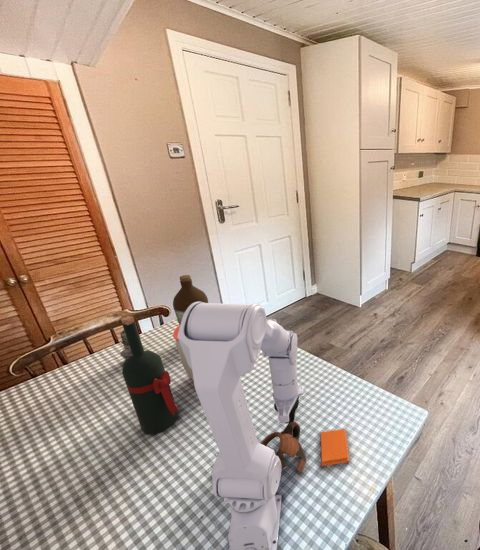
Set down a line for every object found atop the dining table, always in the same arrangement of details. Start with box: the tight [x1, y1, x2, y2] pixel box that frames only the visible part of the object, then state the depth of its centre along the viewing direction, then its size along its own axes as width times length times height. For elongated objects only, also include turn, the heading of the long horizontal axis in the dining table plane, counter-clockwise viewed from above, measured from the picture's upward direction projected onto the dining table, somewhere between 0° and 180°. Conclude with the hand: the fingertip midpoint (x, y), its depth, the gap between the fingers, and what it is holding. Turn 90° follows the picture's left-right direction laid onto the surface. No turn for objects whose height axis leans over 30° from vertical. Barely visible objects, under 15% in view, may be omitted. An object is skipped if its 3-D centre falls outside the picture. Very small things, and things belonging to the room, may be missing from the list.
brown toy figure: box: [260, 421, 307, 474], centre depth 67 cm, size 12×10×8 cm
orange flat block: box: [320, 428, 350, 467], centre depth 70 cm, size 8×6×1 cm
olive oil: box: [172, 274, 209, 326], centre depth 106 cm, size 11×11×25 cm
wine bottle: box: [120, 315, 180, 436], centre depth 71 cm, size 8×10×30 cm
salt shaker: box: [119, 328, 132, 362], centre depth 98 cm, size 6×6×12 cm
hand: (289, 420), depth 75 cm, fingers closed
